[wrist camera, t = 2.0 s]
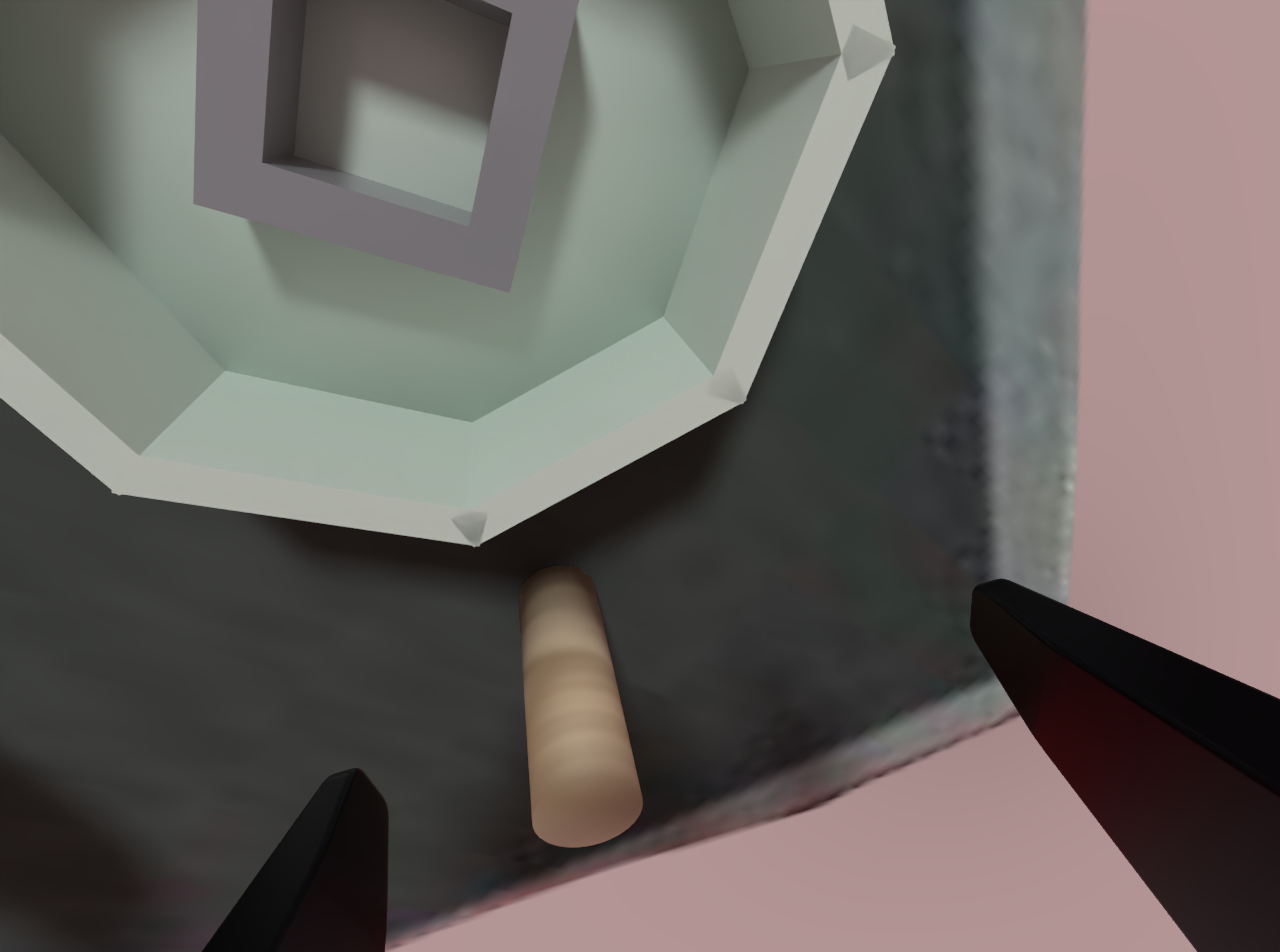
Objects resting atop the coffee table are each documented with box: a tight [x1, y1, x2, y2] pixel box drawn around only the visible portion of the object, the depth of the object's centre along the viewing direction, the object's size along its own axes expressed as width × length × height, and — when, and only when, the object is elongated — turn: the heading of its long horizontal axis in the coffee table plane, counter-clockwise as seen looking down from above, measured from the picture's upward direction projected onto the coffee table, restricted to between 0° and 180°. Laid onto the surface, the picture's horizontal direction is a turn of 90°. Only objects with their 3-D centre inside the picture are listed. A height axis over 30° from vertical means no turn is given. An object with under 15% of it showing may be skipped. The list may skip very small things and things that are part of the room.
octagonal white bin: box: [0, 0, 896, 547], centre depth 13 cm, size 18×18×6 cm
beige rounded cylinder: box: [519, 565, 643, 847], centre depth 21 cm, size 3×3×9 cm
